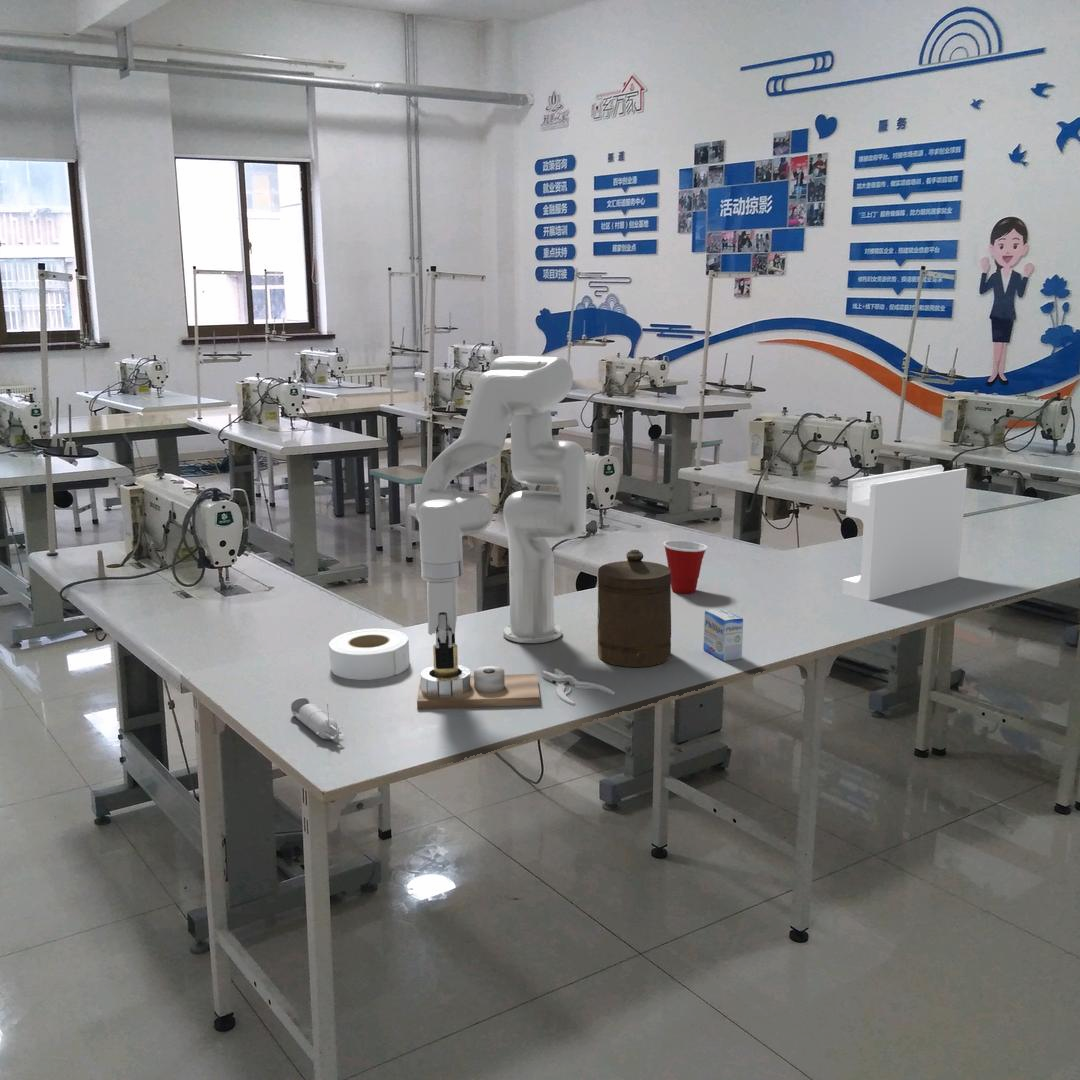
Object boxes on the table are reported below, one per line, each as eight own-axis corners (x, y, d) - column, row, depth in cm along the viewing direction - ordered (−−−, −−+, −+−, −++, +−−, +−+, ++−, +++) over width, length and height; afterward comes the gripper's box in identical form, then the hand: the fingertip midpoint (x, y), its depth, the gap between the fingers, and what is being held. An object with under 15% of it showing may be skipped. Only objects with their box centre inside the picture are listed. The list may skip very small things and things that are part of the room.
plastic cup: (713, 594, 259) (714, 546, 256) (671, 598, 256) (672, 550, 254) (696, 583, 269) (697, 537, 266) (656, 586, 267) (656, 540, 264)
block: (868, 600, 252) (875, 484, 246) (841, 593, 259) (847, 479, 253) (958, 577, 272) (967, 468, 265) (931, 570, 278) (939, 464, 272)
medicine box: (702, 650, 220) (703, 610, 218) (721, 647, 221) (722, 607, 219) (723, 662, 213) (724, 620, 211) (742, 658, 214) (744, 617, 212)
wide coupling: (422, 680, 201) (422, 664, 200) (470, 678, 201) (470, 663, 200) (420, 697, 192) (419, 682, 191) (470, 696, 192) (469, 680, 192)
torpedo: (284, 717, 188) (281, 682, 187) (309, 710, 191) (307, 676, 190) (326, 751, 174) (324, 714, 173) (353, 744, 177) (350, 707, 175)
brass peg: (434, 683, 199) (433, 642, 197) (458, 682, 199) (457, 642, 197) (433, 692, 194) (432, 650, 193) (458, 691, 195) (457, 649, 193)
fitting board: (421, 684, 202) (420, 661, 201) (536, 681, 203) (536, 658, 202) (417, 708, 191) (416, 684, 190) (540, 705, 192) (539, 680, 191)
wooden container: (631, 639, 227) (632, 538, 222) (685, 655, 217) (687, 550, 212) (582, 655, 217) (582, 551, 212) (636, 673, 207) (637, 564, 202)
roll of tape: (377, 686, 203) (375, 658, 201) (314, 672, 210) (312, 645, 209) (425, 661, 216) (424, 635, 215) (364, 649, 224) (363, 624, 222)
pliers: (571, 699, 191) (527, 674, 204) (571, 707, 192) (527, 682, 204) (616, 687, 196) (570, 664, 209) (615, 695, 197) (570, 672, 209)
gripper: (423, 557, 199) (427, 643, 204) (418, 582, 183) (422, 676, 187) (463, 556, 200) (467, 642, 204) (462, 581, 183) (465, 675, 187)
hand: (445, 658), depth 195 cm, fingers open, 9 cm apart
